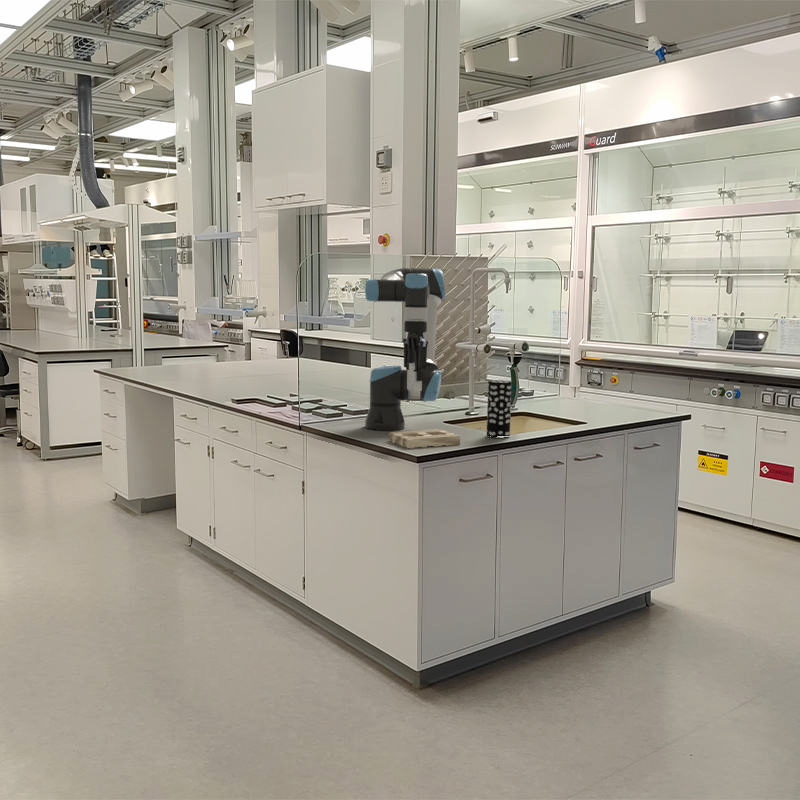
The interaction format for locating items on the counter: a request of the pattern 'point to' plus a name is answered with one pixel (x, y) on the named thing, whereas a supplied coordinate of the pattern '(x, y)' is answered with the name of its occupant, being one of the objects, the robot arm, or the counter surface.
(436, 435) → the hole block
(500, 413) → the spotted tube
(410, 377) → the peg
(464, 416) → the counter surface
